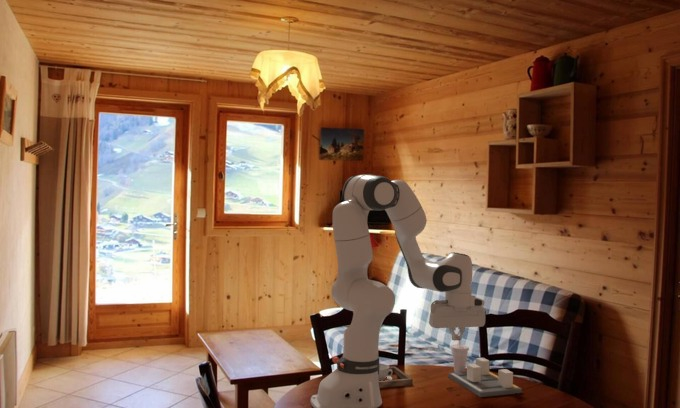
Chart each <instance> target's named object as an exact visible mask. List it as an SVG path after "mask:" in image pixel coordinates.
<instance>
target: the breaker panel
mask: <svg viewBox="0 0 680 408" xmlns="http://www.w3.org/2000/svg"><path fill="white" fill-rule="evenodd" d="M475 364H476V365H478V366H480V367H481V381H480V382H472V381H470V380H468V379H467V370H465V372H448V373H447V374H448V375H447V377H448V378H449V379H451V380H452V381H454V382H456V383H457V384H458V385H460V386H462V387H463V388H464V389H467V390H468V391H469V392H471V393H473V394H474V395H476V396H478V397H479V398H486V397H495V396H506V395H507V396H508V395H516V393H517V394H523V393H522V391H523V389H522V387H520V386H519V385H518V386H517V385H516V384H514V372H513V371H510V370H509V369H507V368H505V369H504V368H502V369H498V372H497V373H498V374H495V373H493V372H492V371H490V360H489V359H486V358H485V357H476V358H475Z"/></svg>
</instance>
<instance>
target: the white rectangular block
mask: <svg viewBox="0 0 680 408" xmlns="http://www.w3.org/2000/svg"><path fill="white" fill-rule="evenodd" d="M466 371H467V379H468V380H470V381H472V382H480V381H481V367H480V366H478V365H476V363H466Z"/></svg>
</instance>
